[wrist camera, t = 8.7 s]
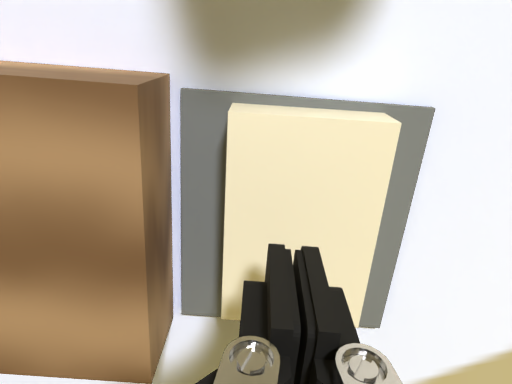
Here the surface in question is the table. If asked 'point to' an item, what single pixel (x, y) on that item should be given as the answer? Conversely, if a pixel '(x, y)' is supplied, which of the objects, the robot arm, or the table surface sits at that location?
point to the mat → (214, 183)
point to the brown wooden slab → (84, 221)
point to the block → (304, 193)
